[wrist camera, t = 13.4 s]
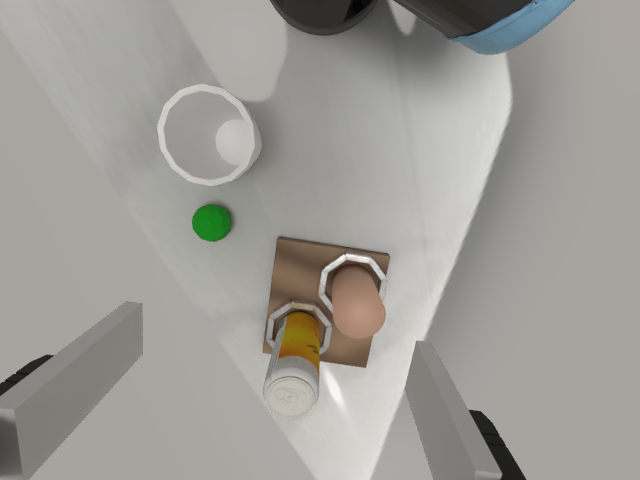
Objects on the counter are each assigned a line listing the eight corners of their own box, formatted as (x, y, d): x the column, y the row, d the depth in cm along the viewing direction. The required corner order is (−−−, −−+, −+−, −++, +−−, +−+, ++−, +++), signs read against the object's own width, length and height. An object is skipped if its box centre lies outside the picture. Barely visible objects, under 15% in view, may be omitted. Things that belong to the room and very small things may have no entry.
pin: (334, 260, 47) (338, 286, 37) (376, 267, 47) (390, 295, 37) (327, 299, 48) (329, 334, 39) (368, 305, 49) (379, 342, 39)
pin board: (278, 236, 48) (277, 239, 46) (388, 253, 48) (390, 256, 47) (264, 347, 52) (262, 352, 50) (364, 361, 52) (365, 367, 51)
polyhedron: (235, 236, 48) (226, 245, 43) (202, 237, 48) (189, 245, 43) (233, 202, 47) (223, 206, 42) (198, 202, 47) (184, 207, 42)
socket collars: (280, 240, 46) (278, 243, 45) (389, 258, 47) (392, 261, 45) (265, 350, 50) (263, 356, 49) (366, 365, 51) (367, 371, 49)
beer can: (310, 352, 50) (304, 431, 36) (273, 337, 50) (252, 411, 35) (326, 318, 49) (328, 387, 34) (288, 303, 48) (274, 365, 34)
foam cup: (262, 97, 43) (238, 72, 31) (282, 168, 45) (266, 171, 33) (194, 116, 44) (142, 100, 31) (216, 185, 46) (176, 195, 33)
